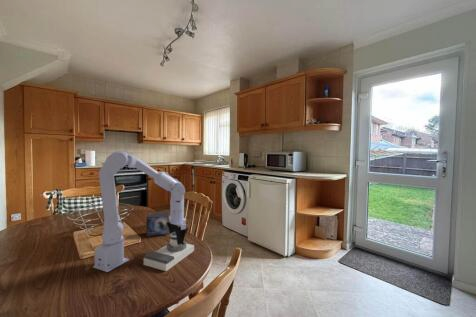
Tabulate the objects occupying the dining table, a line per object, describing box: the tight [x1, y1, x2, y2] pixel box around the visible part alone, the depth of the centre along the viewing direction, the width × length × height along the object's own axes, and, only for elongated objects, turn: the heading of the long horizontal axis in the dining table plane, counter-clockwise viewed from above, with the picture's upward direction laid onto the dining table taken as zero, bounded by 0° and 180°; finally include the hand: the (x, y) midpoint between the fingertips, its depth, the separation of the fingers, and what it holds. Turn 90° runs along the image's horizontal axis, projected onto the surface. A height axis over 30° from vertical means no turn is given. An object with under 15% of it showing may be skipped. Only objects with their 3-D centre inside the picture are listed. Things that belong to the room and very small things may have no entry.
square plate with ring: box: [143, 240, 195, 272], centre depth 89 cm, size 18×11×4 cm, turn 157°
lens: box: [169, 232, 182, 247], centre depth 93 cm, size 5×5×6 cm
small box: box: [145, 212, 169, 238], centre depth 114 cm, size 11×6×10 cm, turn 105°
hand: (176, 240), depth 93 cm, fingers open, 7 cm apart
